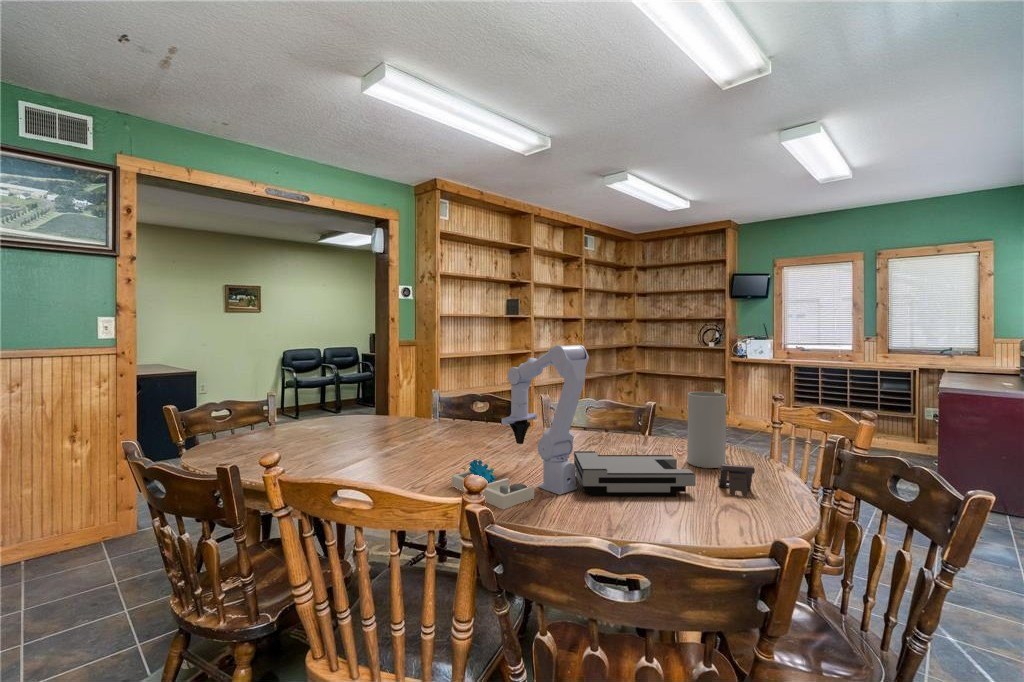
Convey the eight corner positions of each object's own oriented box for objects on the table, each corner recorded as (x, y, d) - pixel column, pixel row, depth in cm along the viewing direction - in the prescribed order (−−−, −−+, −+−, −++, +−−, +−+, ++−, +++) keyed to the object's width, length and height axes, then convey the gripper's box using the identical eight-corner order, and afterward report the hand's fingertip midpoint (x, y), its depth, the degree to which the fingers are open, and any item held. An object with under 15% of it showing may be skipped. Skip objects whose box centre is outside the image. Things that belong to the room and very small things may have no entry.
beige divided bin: (537, 497, 134) (537, 485, 134) (503, 509, 126) (503, 496, 126) (485, 477, 152) (485, 466, 152) (451, 487, 144) (451, 475, 144)
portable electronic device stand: (750, 488, 143) (750, 461, 142) (755, 497, 135) (756, 468, 135) (718, 485, 145) (718, 458, 145) (722, 494, 137) (723, 466, 137)
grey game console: (695, 498, 135) (695, 470, 134) (583, 498, 135) (583, 470, 134) (671, 476, 155) (671, 451, 155) (574, 476, 155) (574, 451, 155)
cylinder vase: (688, 467, 163) (689, 395, 163) (686, 458, 175) (686, 391, 175) (727, 470, 160) (728, 397, 159) (722, 460, 172) (723, 392, 171)
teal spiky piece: (483, 487, 138) (466, 459, 143) (470, 499, 140) (454, 471, 145) (504, 482, 147) (487, 456, 152) (492, 493, 149) (476, 467, 154)
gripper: (527, 399, 165) (527, 437, 165) (495, 403, 155) (495, 444, 156) (541, 401, 160) (541, 441, 160) (509, 406, 150) (509, 448, 150)
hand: (519, 443), depth 157 cm, fingers closed
